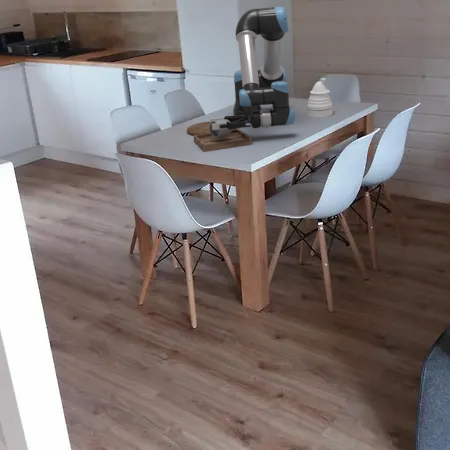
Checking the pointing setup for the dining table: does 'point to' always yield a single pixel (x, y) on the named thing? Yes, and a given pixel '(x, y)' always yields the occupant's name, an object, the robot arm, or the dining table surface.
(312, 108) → the honey pot
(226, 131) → the ceramic mug
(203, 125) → the trivet
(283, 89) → the robot arm
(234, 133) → the walnut tray
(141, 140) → the dining table surface
